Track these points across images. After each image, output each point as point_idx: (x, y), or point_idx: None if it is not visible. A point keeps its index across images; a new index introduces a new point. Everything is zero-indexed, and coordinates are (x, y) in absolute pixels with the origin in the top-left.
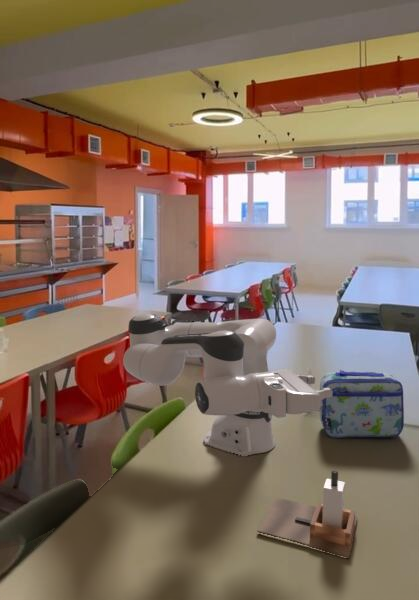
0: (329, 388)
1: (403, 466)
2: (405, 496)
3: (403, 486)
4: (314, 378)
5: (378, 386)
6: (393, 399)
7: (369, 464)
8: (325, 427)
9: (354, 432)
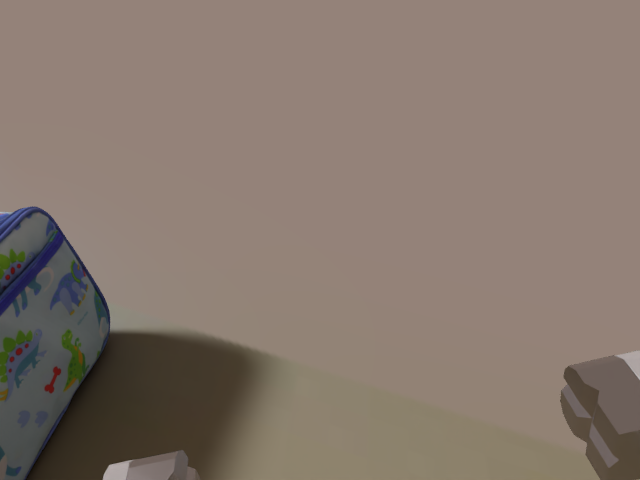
0: (608, 363)
1: (236, 365)
2: (372, 404)
3: (326, 394)
4: (182, 458)
5: (4, 259)
6: (59, 260)
7: (202, 444)
8: None
9: (43, 430)
